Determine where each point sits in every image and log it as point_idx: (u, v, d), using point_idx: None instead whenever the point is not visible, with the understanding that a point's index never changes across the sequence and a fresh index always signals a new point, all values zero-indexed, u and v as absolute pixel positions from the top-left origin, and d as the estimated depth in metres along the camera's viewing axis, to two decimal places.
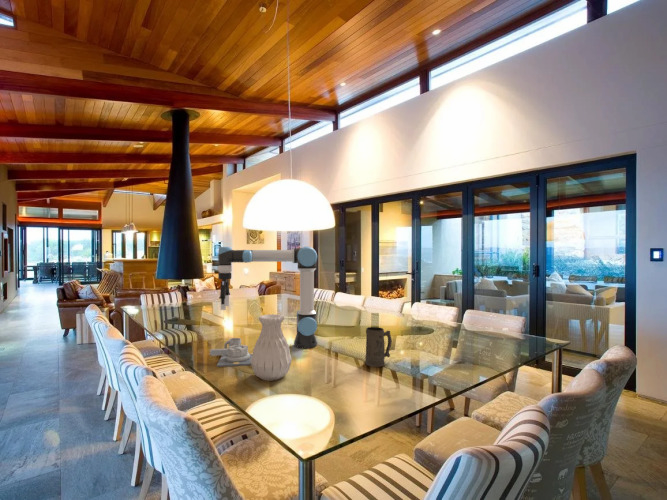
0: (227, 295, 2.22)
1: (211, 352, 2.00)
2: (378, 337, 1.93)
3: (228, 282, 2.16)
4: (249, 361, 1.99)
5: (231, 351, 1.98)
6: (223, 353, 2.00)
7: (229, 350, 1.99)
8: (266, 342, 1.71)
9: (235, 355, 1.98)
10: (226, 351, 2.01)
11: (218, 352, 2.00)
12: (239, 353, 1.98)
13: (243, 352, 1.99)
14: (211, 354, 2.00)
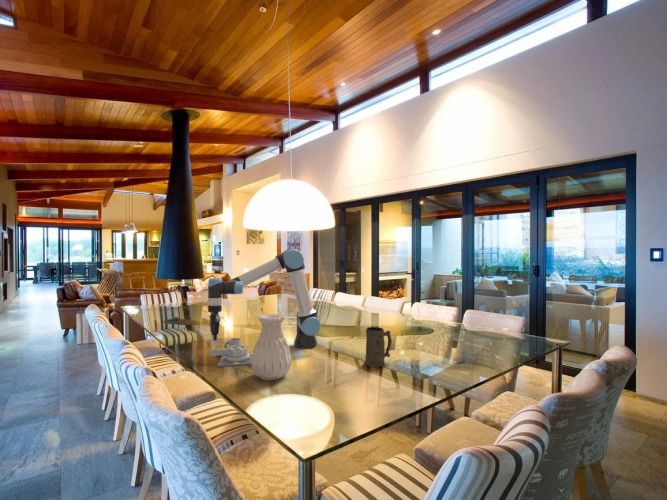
0: None
1: (211, 352, 2.00)
2: (378, 337, 1.93)
3: None
4: (249, 361, 1.99)
5: (231, 351, 1.98)
6: (223, 353, 2.00)
7: (229, 350, 1.99)
8: (266, 342, 1.71)
9: (235, 355, 1.98)
10: (226, 351, 2.01)
11: (218, 352, 2.00)
12: (239, 353, 1.98)
13: (243, 352, 1.99)
14: (211, 354, 2.00)
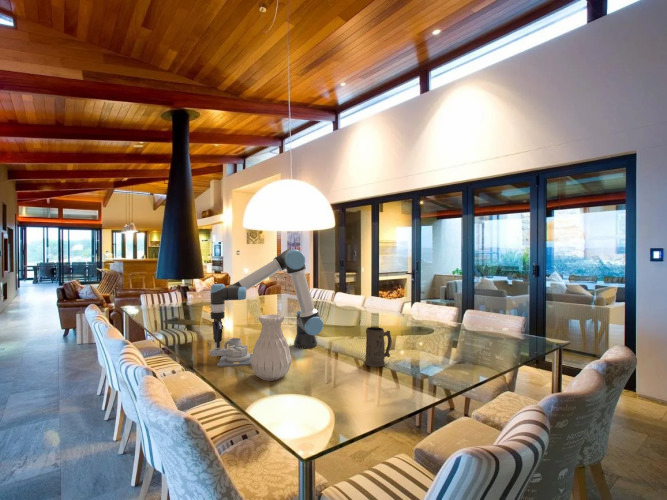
0: None
1: (211, 352, 1.99)
2: (378, 337, 1.93)
3: None
4: (249, 361, 1.99)
5: (231, 351, 1.98)
6: (223, 353, 2.00)
7: (229, 350, 1.99)
8: (266, 342, 1.71)
9: (236, 355, 1.98)
10: (226, 351, 2.00)
11: (218, 353, 2.00)
12: (240, 353, 1.98)
13: (243, 352, 2.00)
14: (211, 354, 1.99)
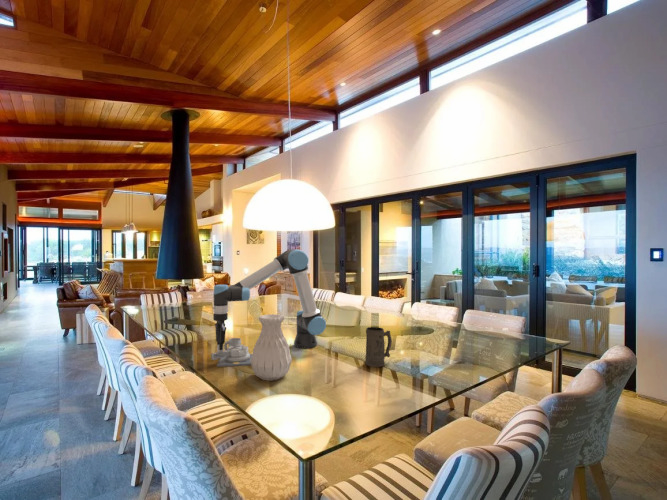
0: None
1: (214, 356, 1.92)
2: (378, 337, 1.93)
3: None
4: (249, 361, 1.99)
5: (237, 351, 1.97)
6: (226, 355, 1.97)
7: (233, 351, 1.98)
8: (266, 342, 1.71)
9: (241, 354, 1.98)
10: (228, 353, 1.98)
11: (221, 355, 1.95)
12: (244, 352, 2.00)
13: (247, 351, 2.02)
14: (214, 358, 1.92)
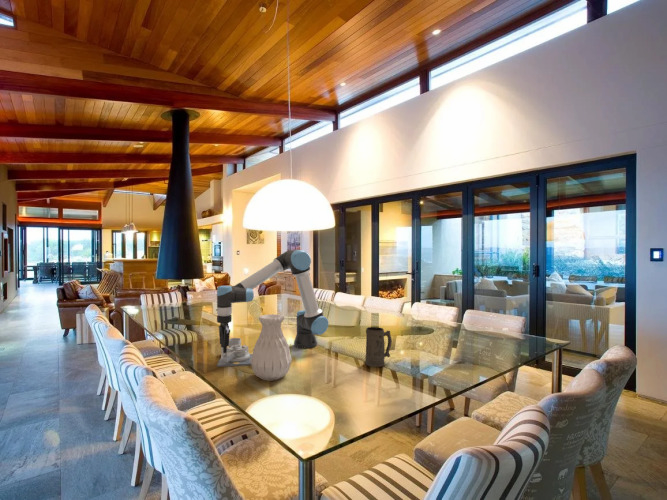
0: None
1: (227, 358, 1.89)
2: (378, 337, 1.93)
3: None
4: (249, 361, 1.99)
5: (243, 350, 1.99)
6: (233, 356, 1.95)
7: (240, 350, 1.98)
8: (266, 342, 1.71)
9: (246, 353, 2.01)
10: (234, 353, 1.97)
11: (231, 357, 1.92)
12: (247, 350, 2.03)
13: None
14: (227, 360, 1.89)
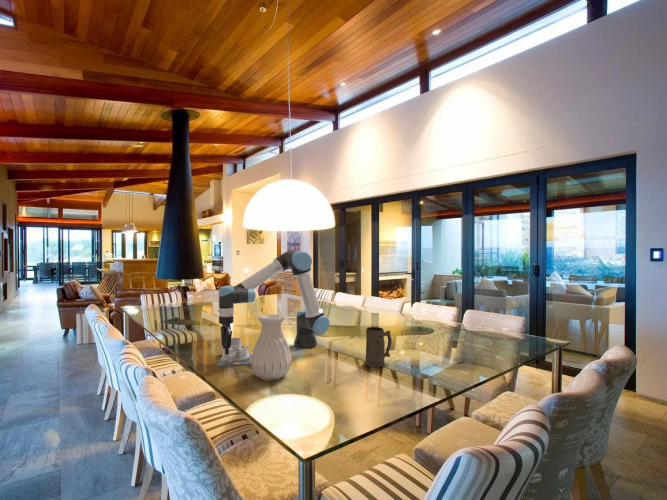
0: None
1: (232, 358, 1.89)
2: (378, 337, 1.93)
3: None
4: (249, 361, 1.99)
5: (244, 350, 2.00)
6: (236, 356, 1.95)
7: (241, 350, 1.99)
8: (266, 342, 1.71)
9: (246, 353, 2.02)
10: (237, 353, 1.97)
11: (234, 357, 1.92)
12: (247, 350, 2.04)
13: None
14: (232, 360, 1.89)
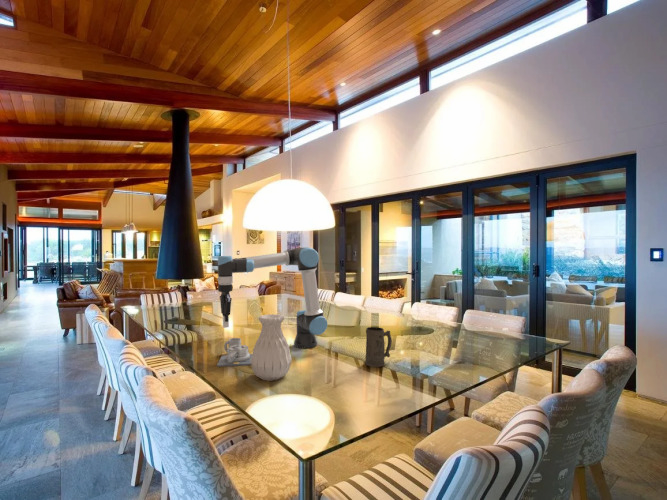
0: None
1: (232, 358, 1.89)
2: (378, 337, 1.93)
3: None
4: (249, 361, 1.99)
5: (244, 350, 2.00)
6: (236, 356, 1.95)
7: (241, 350, 1.99)
8: (266, 342, 1.71)
9: (246, 353, 2.02)
10: (237, 353, 1.97)
11: (234, 357, 1.92)
12: (247, 350, 2.04)
13: None
14: (232, 360, 1.89)
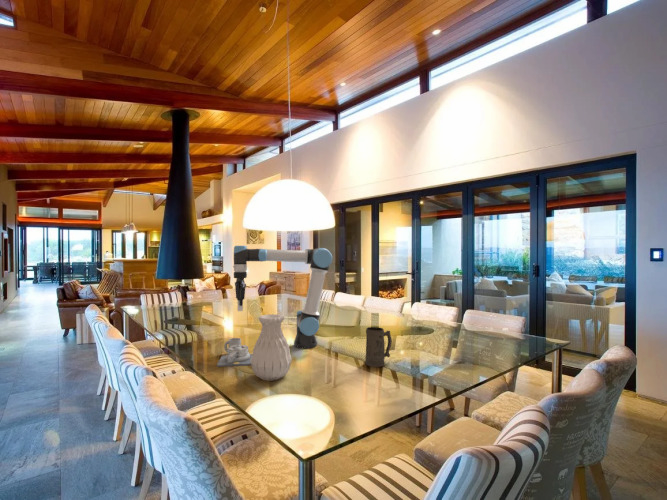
0: None
1: (232, 358, 1.89)
2: (378, 337, 1.93)
3: None
4: (249, 361, 1.99)
5: (244, 350, 2.00)
6: (236, 356, 1.95)
7: (241, 350, 1.99)
8: (266, 342, 1.71)
9: (246, 353, 2.02)
10: (237, 353, 1.97)
11: (234, 357, 1.92)
12: (247, 350, 2.04)
13: None
14: (232, 360, 1.89)
